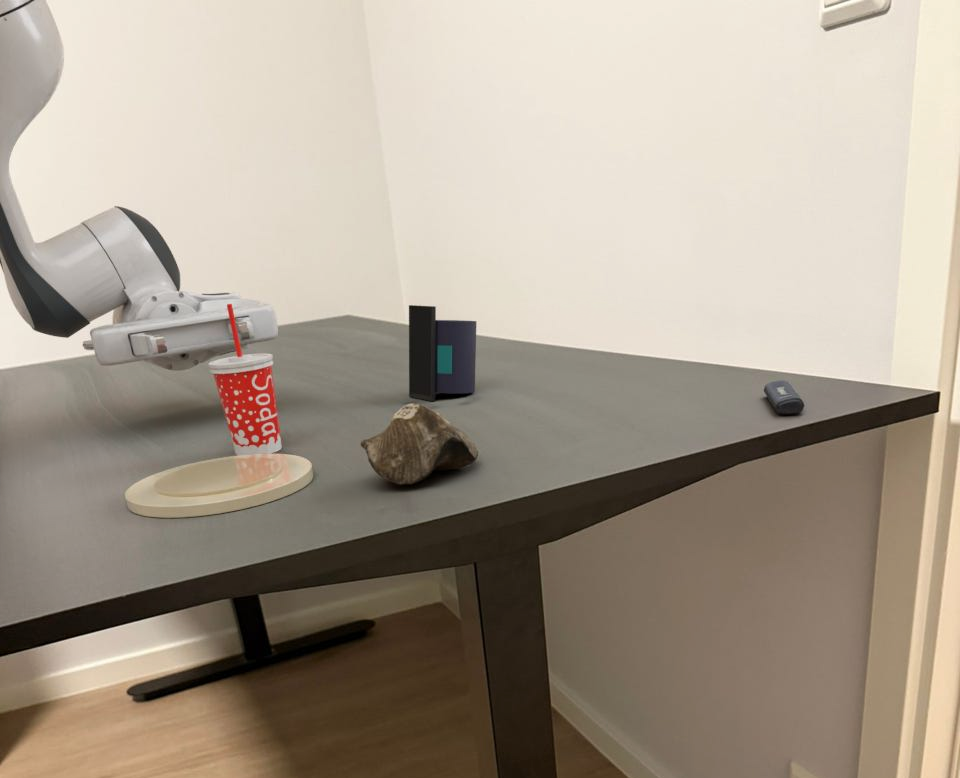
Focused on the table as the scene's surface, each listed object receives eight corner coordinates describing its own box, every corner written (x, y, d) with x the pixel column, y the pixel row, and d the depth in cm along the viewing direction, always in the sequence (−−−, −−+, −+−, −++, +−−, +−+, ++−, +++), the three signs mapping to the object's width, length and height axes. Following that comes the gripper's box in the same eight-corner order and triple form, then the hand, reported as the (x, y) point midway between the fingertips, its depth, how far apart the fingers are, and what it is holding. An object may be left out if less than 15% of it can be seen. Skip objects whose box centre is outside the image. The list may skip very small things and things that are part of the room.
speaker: (417, 402, 109) (413, 306, 105) (408, 397, 114) (405, 305, 110) (482, 399, 110) (480, 304, 107) (470, 394, 116) (469, 303, 112)
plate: (98, 525, 77) (93, 510, 76) (163, 472, 91) (159, 459, 91) (293, 508, 76) (290, 492, 75) (327, 457, 90) (325, 443, 90)
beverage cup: (242, 462, 92) (210, 309, 86) (218, 453, 96) (186, 308, 90) (299, 448, 95) (272, 300, 89) (273, 440, 99) (246, 299, 94)
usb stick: (762, 396, 95) (763, 380, 94) (790, 394, 94) (790, 378, 94) (775, 417, 86) (775, 400, 86) (805, 415, 86) (806, 398, 85)
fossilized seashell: (451, 426, 85) (350, 467, 82) (451, 368, 80) (343, 410, 77) (495, 481, 82) (392, 526, 79) (499, 424, 76) (388, 470, 73)
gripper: (71, 315, 106) (94, 321, 95) (248, 290, 115) (288, 293, 103) (87, 373, 109) (110, 385, 97) (259, 344, 117) (298, 353, 106)
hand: (203, 338), depth 101 cm, fingers open, 8 cm apart
